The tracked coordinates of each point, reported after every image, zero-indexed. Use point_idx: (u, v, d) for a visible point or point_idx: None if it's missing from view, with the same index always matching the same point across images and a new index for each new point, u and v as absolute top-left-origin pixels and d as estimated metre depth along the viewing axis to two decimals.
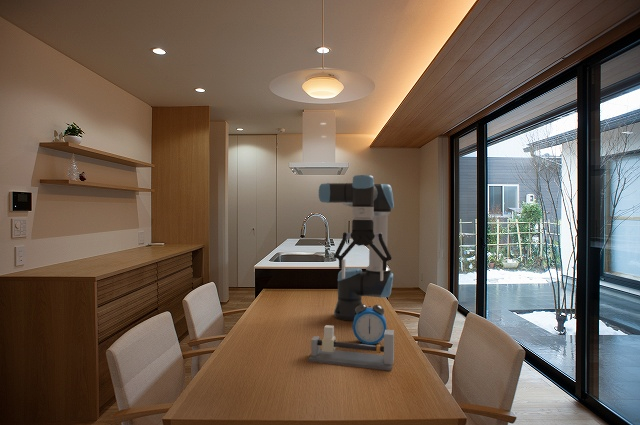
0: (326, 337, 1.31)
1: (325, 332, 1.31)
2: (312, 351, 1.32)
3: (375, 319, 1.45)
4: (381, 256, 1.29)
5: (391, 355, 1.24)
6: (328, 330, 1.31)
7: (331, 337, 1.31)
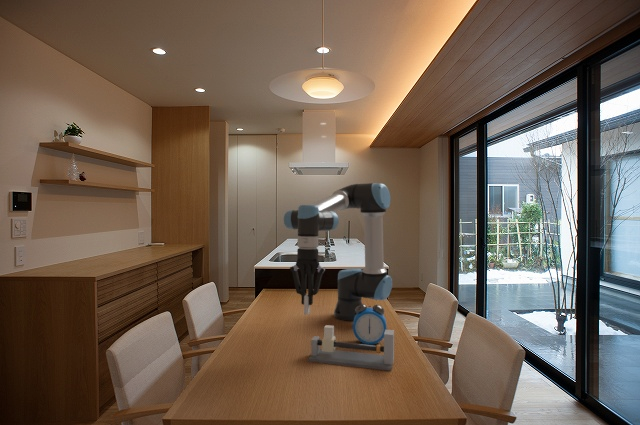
0: (326, 337, 1.31)
1: (325, 332, 1.31)
2: (312, 351, 1.32)
3: (375, 319, 1.45)
4: (310, 290, 1.32)
5: (391, 355, 1.24)
6: (328, 330, 1.31)
7: (331, 337, 1.31)
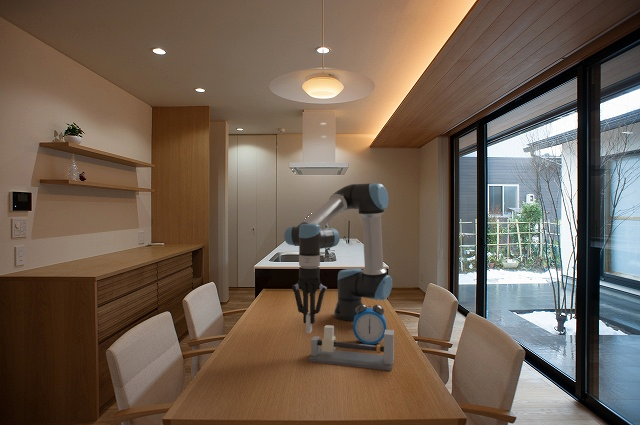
0: (326, 337, 1.31)
1: (325, 332, 1.31)
2: (312, 351, 1.32)
3: (375, 319, 1.45)
4: (312, 309, 1.32)
5: (391, 355, 1.24)
6: (328, 330, 1.31)
7: (331, 337, 1.31)
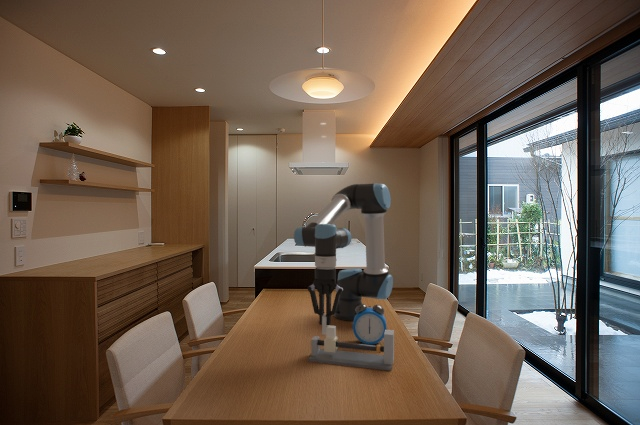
0: (328, 337, 1.31)
1: (327, 332, 1.31)
2: (312, 351, 1.32)
3: (375, 319, 1.45)
4: (328, 310, 1.31)
5: (391, 355, 1.24)
6: (330, 330, 1.31)
7: (333, 337, 1.31)
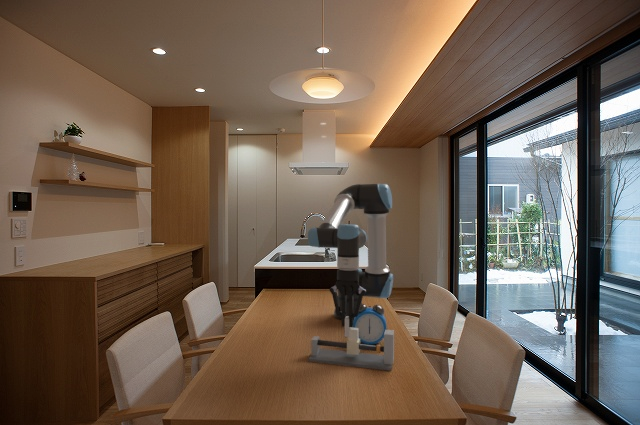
0: (351, 339, 1.29)
1: (350, 334, 1.29)
2: (312, 351, 1.32)
3: (375, 319, 1.45)
4: (351, 312, 1.29)
5: (391, 355, 1.24)
6: (353, 332, 1.29)
7: (356, 339, 1.28)
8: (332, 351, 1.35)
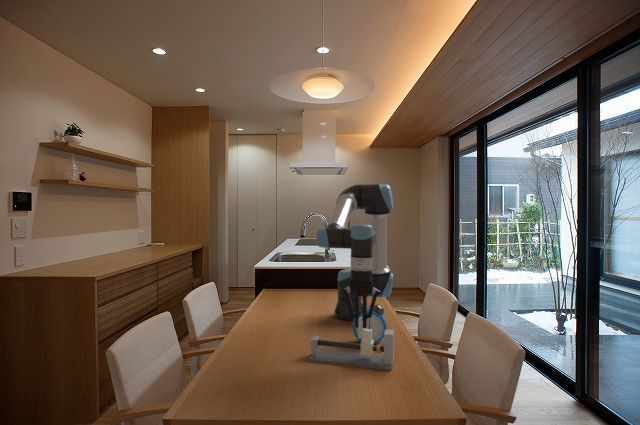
0: (365, 341, 1.28)
1: (363, 336, 1.28)
2: (312, 351, 1.32)
3: (375, 319, 1.45)
4: (364, 313, 1.28)
5: (391, 355, 1.24)
6: (367, 333, 1.27)
7: (370, 341, 1.27)
8: (332, 351, 1.35)
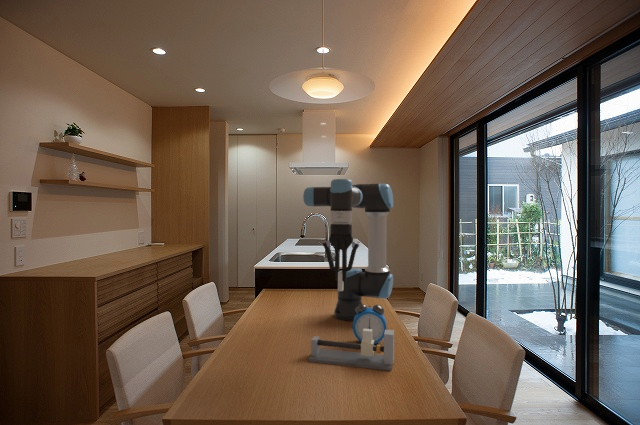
0: (365, 341, 1.28)
1: (364, 336, 1.28)
2: (312, 351, 1.32)
3: (375, 319, 1.45)
4: (344, 266, 1.29)
5: (391, 355, 1.24)
6: (367, 333, 1.27)
7: (370, 341, 1.27)
8: (332, 351, 1.35)
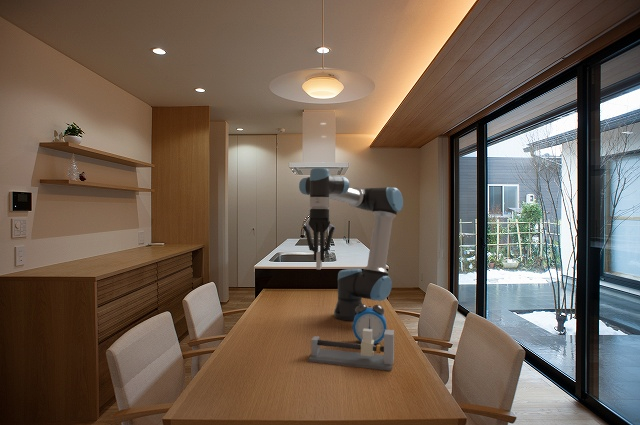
0: (365, 341, 1.28)
1: (364, 336, 1.28)
2: (312, 351, 1.32)
3: (375, 319, 1.45)
4: (322, 246, 1.44)
5: (391, 355, 1.24)
6: (367, 333, 1.27)
7: (370, 341, 1.27)
8: (332, 351, 1.35)
